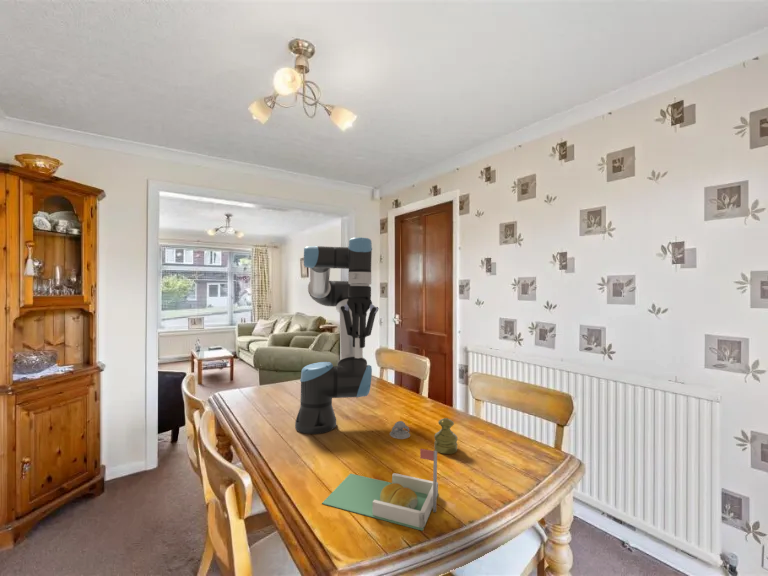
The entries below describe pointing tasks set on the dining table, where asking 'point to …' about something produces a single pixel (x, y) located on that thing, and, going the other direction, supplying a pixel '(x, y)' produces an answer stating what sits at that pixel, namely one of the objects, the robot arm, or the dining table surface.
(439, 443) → the olive green sack
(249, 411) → the dining table surface
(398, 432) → the miniature
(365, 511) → the green mat
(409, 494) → the bread roll
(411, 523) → the white u-shaped piece
